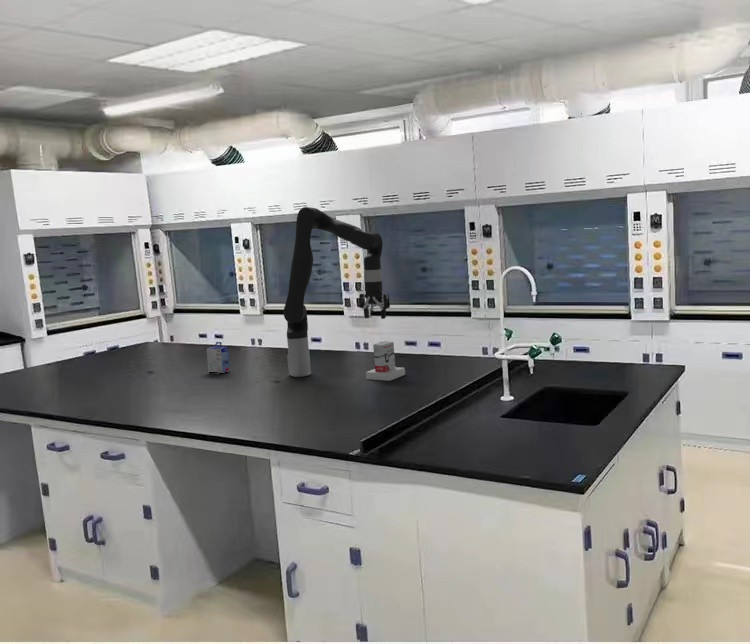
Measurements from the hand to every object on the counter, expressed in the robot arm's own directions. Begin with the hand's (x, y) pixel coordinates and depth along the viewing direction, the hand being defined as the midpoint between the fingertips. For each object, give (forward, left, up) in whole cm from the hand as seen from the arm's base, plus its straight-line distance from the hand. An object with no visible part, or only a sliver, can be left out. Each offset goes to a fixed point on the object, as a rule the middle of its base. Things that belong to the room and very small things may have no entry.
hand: (375, 318), depth 312 cm
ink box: (+3, 0, -23) cm, 23 cm away
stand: (+3, 0, -25) cm, 26 cm away
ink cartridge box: (-83, -15, -26) cm, 88 cm away
